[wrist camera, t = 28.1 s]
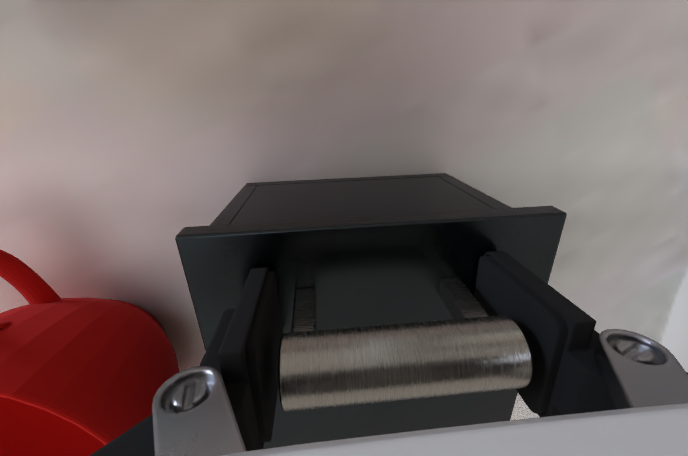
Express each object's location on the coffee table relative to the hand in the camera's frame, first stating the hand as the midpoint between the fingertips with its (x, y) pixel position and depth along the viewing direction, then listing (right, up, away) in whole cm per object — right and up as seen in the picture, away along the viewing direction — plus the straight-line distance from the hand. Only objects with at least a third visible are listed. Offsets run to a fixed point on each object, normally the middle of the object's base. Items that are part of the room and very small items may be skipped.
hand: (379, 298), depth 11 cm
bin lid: (0, -5, +3) cm, 6 cm away
